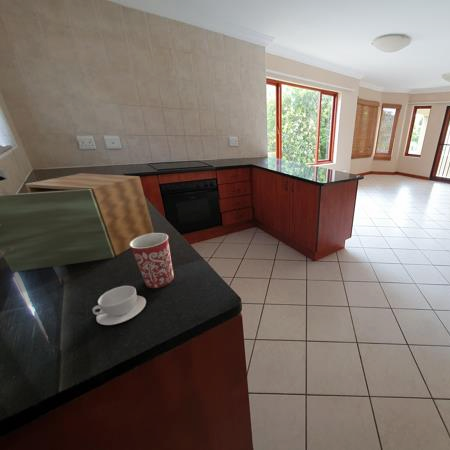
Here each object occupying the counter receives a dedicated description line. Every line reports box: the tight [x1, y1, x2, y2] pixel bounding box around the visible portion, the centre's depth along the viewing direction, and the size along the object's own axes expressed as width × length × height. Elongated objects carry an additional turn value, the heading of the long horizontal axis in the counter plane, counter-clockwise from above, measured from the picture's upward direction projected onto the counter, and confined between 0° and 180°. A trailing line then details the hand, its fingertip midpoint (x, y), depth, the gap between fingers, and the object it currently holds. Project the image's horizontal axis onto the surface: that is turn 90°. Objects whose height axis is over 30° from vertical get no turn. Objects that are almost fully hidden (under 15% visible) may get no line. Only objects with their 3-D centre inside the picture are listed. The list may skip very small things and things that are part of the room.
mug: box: [129, 232, 175, 289], centre depth 68 cm, size 13×9×14 cm
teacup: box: [92, 285, 147, 326], centre depth 57 cm, size 10×10×5 cm
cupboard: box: [24, 172, 155, 257], centre depth 87 cm, size 18×26×24 cm
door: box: [0, 189, 116, 273], centre depth 70 cm, size 6×26×24 cm, turn 110°
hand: (1, 175), depth 72 cm, fingers closed
